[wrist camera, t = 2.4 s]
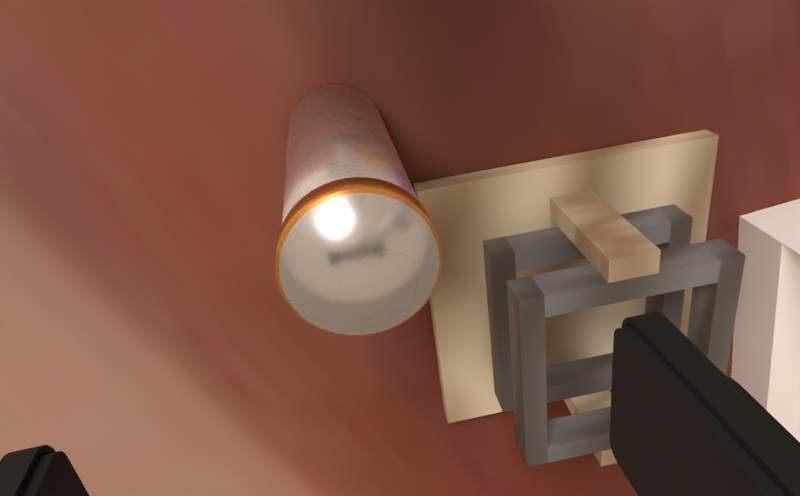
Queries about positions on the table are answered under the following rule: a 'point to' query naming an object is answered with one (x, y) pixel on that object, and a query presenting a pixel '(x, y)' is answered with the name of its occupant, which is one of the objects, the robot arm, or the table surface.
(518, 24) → the table surface
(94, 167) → the table surface
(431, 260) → the steel tube
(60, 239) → the table surface
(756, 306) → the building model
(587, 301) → the collar stand
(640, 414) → the robot arm
